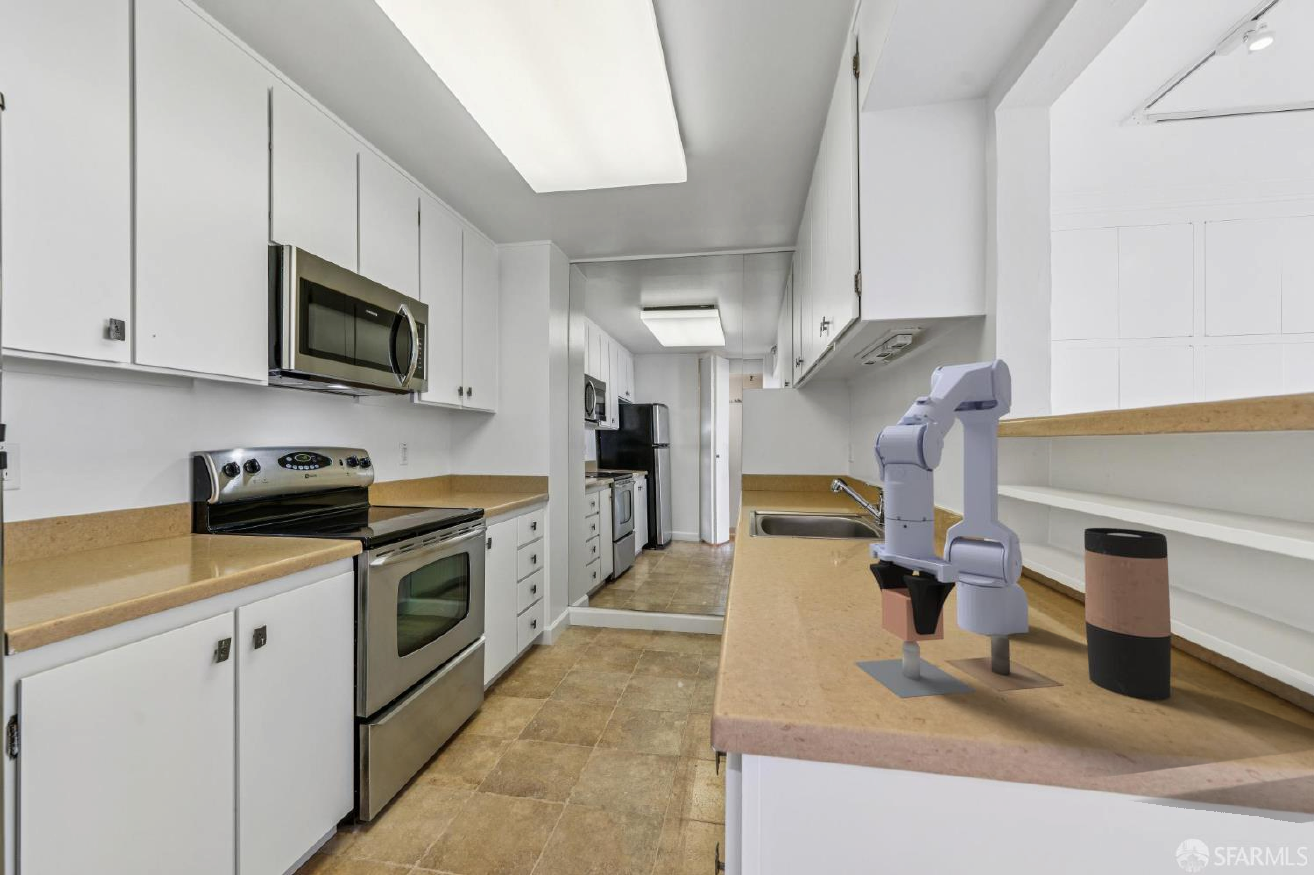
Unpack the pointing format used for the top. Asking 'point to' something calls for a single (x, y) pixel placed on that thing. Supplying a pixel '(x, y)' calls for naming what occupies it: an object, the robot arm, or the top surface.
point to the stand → (1002, 669)
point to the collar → (904, 616)
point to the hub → (913, 675)
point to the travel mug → (1128, 612)
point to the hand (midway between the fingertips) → (910, 625)
